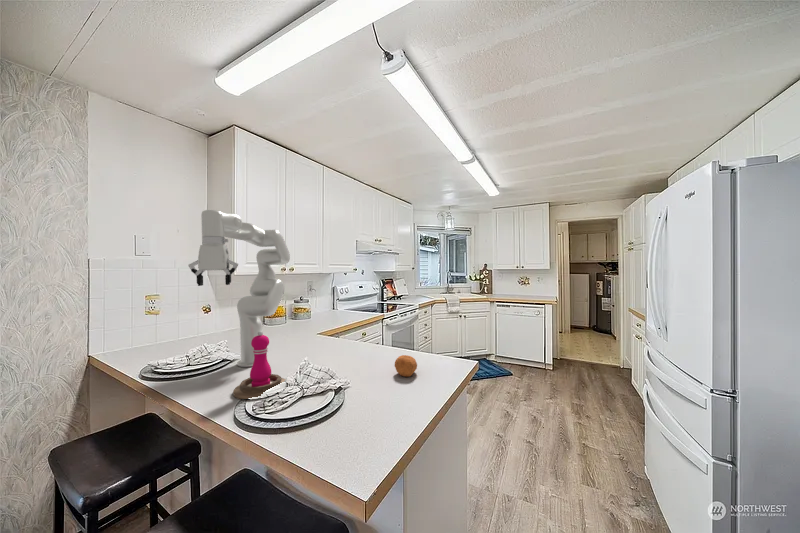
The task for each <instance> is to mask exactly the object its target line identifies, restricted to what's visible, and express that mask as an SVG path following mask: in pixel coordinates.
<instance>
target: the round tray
mask: <svg viewBox="0 0 800 533" xmlns="http://www.w3.org/2000/svg"><path fill="white" fill-rule="evenodd" d="M269 379H270V384H267V385H264V386H257V387H252V381H253V380H252V379H251V378H250V377H248V378H245V379H244V380H242V381H241V382H240V384H239V385H237V386H236V387H235V388H233V392H232V393H233V395H232V396H233V397H234V398H235V399H237V400H241V399H248V398H252V397H258V396H261V394H263V392H265V391H266V390H268V389H270V388H272V387H274V386H276V385H278V384H280V383H282V382H284V381H285V380H287V379H286V378H283V377H282V376H281V375H279V374H276V373H271V375H270V377H269ZM241 401H242V400H241Z"/></svg>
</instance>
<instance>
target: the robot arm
mask: <svg viewBox="0 0 800 533" xmlns="http://www.w3.org/2000/svg"><path fill="white" fill-rule="evenodd" d="M200 220H201V244H200V245H199V250H198V256H197V260H195V261H193V262H191V263H189V264H188V267H189V269H190V270H191V272H192V273H193V274H194V275H195V276H196V285H197V286H198V287H200V286H204V275H203V273H204V272H205V271H224V273H225V279H224V280H225V282H224V283H225V285H226V286H230V285H231V283H232V275H233V273H234V272H235V271H236V270H237V268H238V266H239V263H238V262H235V261H233V260H231V259H230V255H229V250H228V249H229V248H228V246H227V245H225V244H226V243H229V239H228V238H230V239H234V240H238V241H244V242H247V243H249V244H251V245H254V246H255V247H256V246H257V247H262V248H264V249H260V250H259V251H257V252H256V253H257V254H256V263H257V267H258V273H257V275H256V277H255V278H254V280H253V282H252V284H251V286H250V289H249V294H250V295H247V296H242V297H241V298H240V299H238V301H237V303H236V304H237V305H236V308H237V315H238V318H239V331H240V332H239V334H240V339H239V340H240V343H239V344H240V359H239V360H238V361H237V362H236V363H237V364H236V365H237V366H238V367H242V368H250V367H251V368H252V366H253V363H254V354H253V349H254V348H253V347H252V345H251V342H252V339H253V338H254V337H255V336H258V332H259V331H262V332H263V333H264V330H263V326H264V325H263V322H262V320H261V318H260V317H271V316H273V315H274V314H275V313H276V312H277V309H278V307H279V306H280V303H281V302H282V301H281V300H282V298H283V296H284V292H285V284H284V282H283V280H281V279H279V278H276V277H277V276H276V272H275V270H274V269H273V268H272V266H275V265H276V266H277V265H280V266H281V265H287V264H288V263H289V262H290V260H291V253H290V251H289V248H288V245H287V244H286V241H285V239H284V236H283V234H282V233H281V232H280V231H279V230H277V229H262V228H260V227H258V226H256V225H254V224H252V223H249V222H243V220H242V217H240V216H239V215H238V214H236V213H233V212H222V211H220V210H217V209H205V210H204V209H203V210H202V211H201V218H200ZM266 247H267V248H266ZM269 247H274V248H269ZM230 265H232V268H230V267H231V266H230ZM196 266H197V268H198V269H196Z"/></svg>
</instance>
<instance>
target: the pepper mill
mask: <svg viewBox="0 0 800 533" xmlns="http://www.w3.org/2000/svg"><path fill="white" fill-rule="evenodd" d="M269 344H270V339H269V337H268V336H267V335H265V334H264V331H263V332H262V331H259V332H258V336H255V337H254V338H253V339H252V342H251V345H252V347H253V348H254V349H253V354H254V363H253V366H251V369H250V371H249V378H251V379H252V380H253V381H252V387H257V386H264V385H267V384H270V379H269V377H270V375H271V374H272V367H271V365H270V363H269V361H268V357H267V356H268V355H267V353H269V350H268V349H269V347H268V346H269Z"/></svg>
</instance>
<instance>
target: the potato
mask: <svg viewBox="0 0 800 533" xmlns="http://www.w3.org/2000/svg"><path fill="white" fill-rule="evenodd" d="M417 367H418V363H417V361H416V359H415V357H413V356H411V355H403V354H402V355H400V356H398V357H396V359H395V361H394V368H395V370H396V373H397V374H398V375H400V376H402V377H411V376H413V375H414V373H415V371H416V370H417V369H418V368H417Z"/></svg>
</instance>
